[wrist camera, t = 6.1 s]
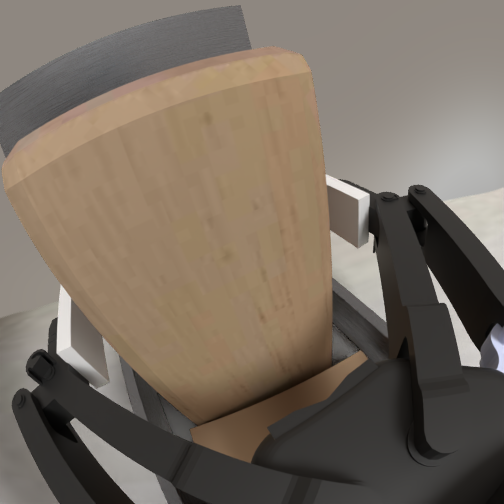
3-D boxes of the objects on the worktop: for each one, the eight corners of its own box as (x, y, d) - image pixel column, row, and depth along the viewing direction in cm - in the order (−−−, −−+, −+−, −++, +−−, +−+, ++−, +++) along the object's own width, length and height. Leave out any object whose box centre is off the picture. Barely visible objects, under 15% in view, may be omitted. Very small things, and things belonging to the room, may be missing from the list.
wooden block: (271, 297, 26) (213, 64, 14) (336, 377, 19) (318, 40, 7) (173, 346, 24) (53, 127, 12) (212, 443, 16) (-21, 167, 4)
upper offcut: (219, 481, 13) (205, 477, 11) (204, 439, 15) (189, 429, 14) (383, 403, 14) (391, 388, 13) (357, 368, 17) (361, 349, 16)
